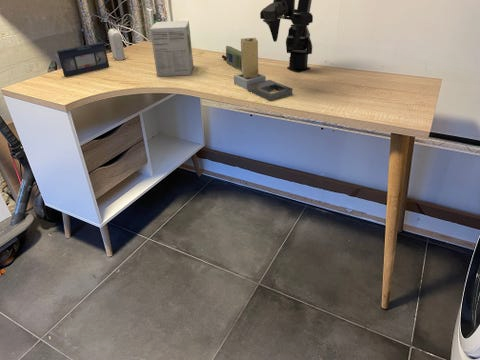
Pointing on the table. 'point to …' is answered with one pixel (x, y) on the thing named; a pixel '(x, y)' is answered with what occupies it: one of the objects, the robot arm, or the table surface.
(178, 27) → the supplement box
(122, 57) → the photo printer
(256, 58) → the brass tower with button
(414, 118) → the table surface
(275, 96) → the grey holder tray
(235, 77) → the parts tray
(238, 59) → the handheld radio
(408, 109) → the table surface
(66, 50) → the vhs cassette tape
